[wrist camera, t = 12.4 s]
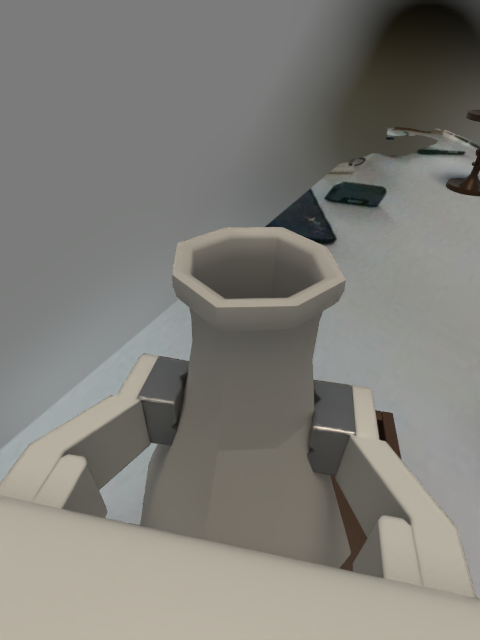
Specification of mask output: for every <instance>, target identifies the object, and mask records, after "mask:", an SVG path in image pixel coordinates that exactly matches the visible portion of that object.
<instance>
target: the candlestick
mask: <svg viewBox="0 0 480 640" xmlns="http://www.w3.org/2000/svg"><path fill="white" fill-rule="evenodd" d="M466 118H468V119H470V120H474V121H478V122H480V110H470V111H468V114H467V117H466ZM476 156H477V159H476V161H475V162H473V163H472V165H473V166H474V167H473V170H472V172H471V174H470V175H469V176H468V177H467V178H466V179H463V178H454V179H449V180H448V182H447V184H446V187H447V188H449V189H450V190H452V191H455V192H458V193H462V194H467V195H474V196H480V181H479V180H478V173H479V171H480V148H479V149H477V150H476Z"/></svg>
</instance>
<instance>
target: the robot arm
mask: <svg viewBox="0 0 480 640" xmlns="http://www.w3.org/2000/svg"><path fill="white" fill-rule="evenodd" d="M188 368H189V361H185V360H179V359H174V358H168V357H162V356H155V355H149V354H143V355H142V356H140V357H139V359H138V360H137V362H136V364H135V366H134V367H133V369H132V371H131V372H130V374H129V376H128V377H127V379H126V381H125V382H124V384H123V386H122V387H121V389H120V391H119V392H118V394H117V396H114V395H111V396H109V397H108V398H106V399H104V400H103V401H101V402H99V403H98V404H96V405H94V406H93V407H91V408H89V409H88V410H86V411H84V412H83V413H81V414H79V415H78V416H76V417H74V418H72V419H71V420H69V421H67V422H66V423H64V424H62V425H61V426H59V427H57V428H56V429H54V430H52V431H51V432H49V433H47V434H46V435H44V436H42V437H41V438H39V439H37V440H36V441H34V442H32V443H31V444H29V445H28V447H27V448H26V449H25V451H24V452H23V453H22V455H21V456H20V457H19V459H18V460H17V461H16V463H15V464H14V465H13V467H12V468H11V469H10V471H9V472H8V474H7V475H6V476H5V478H4V479H3V480H2V482H1V483H0V640H480V599H479V598H477V597H476V593H475V590H474V586H473V583H472V579H471V575H470V572H469V568H468V564H467V561H466V557H465V554H464V550H463V546H462V543H461V539H460V536H459V532H458V528H457V527H456V526H455V524H454V523H453V522H452V521H451V520H450V518H449V517H448V516H447V515H446V514H445V512H444V511H443V510H442V509H441V508H440V506H439V505H438V504H437V503H436V501H435V500H434V499H433V498H432V497H431V495H430V494H429V493H428V492H427V491H426V489H425V488H424V487H423V486H422V485H421V483H420V482H419V481H418V480H417V479H416V477H415V476H414V475H413V474H412V473H411V471H410V470H409V469H408V468H407V466H406V465H405V464H404V463H403V462H402V460H401V459H400V458H399V457H398V456H397V454H396V453H395V452H394V451H393V450H392V448H391V447H390V446H389V445H388V444H387V442H386V441H382V440H379V433H378V426H377V419H376V412H375V406H374V399H373V392H372V390H371V388H368V387H361V386H354V385H351V386H350V385H348V384H340V383H333V382H326V381H319V380H313V389H314V412H313V417H312V423H311V429H310V435H309V445H310V447H311V448H310V450H309V452H308V453H307V455H306V456H307V458H308V461H309V463H310V466H311V468H312V471H313V472H316V473H321V474H325V475H330V476H335V479H336V481H337V483H338V485H339V487H340V488H341V490H342V492H343V494H344V496H345V498H346V499H347V501H348V503H349V505H350V507H351V509H352V510H353V512H354V514H355V516H356V518H357V520H358V522H359V523H360V525H361V527H362V529H363V531H364V533H365V534H366V536H367V540H366V542H365V544H364V545H363V547H362V549H361V550H360V552H359V554H358V556H357V557H356V559H355V561H354V562H353V571H349V570H344V569H339V568H335V567H330V566H325V565H321V564H316V563H311V562H307V561H302V560H297V559H293V558H288V557H284V556H279V555H274V554H270V553H265V552H260V551H256V550H251V549H246V548H242V547H237V546H232V545H228V544H223V543H219V542H214V541H209V540H205V539H200V538H195V537H191V536H186V535H181V534H177V533H172V532H167V531H163V530H158V529H154V528H149V527H144V526H140V525H135V524H130V523H126V522H121V521H116V520H112V519H107V518H105V517H106V515H107V509H106V506H105V503H104V501H103V499H102V496H101V494H100V492H99V490H100V489H101V488H102V487H103V486H104V485H105V484H107V483H108V482H109V481H110V480H111V479H112V478H113V477H114V476H116V475H117V474H118V473H119V472H120V471H121V470H122V469H123V468H125V467H126V466H127V465H128V464H129V463H130V462H131V461H132V460H134V459H135V458H136V457H137V456H138V455H139V454H140V453H141V452H143V451H144V450H145V449H146V448H147V447H148V446H149V445H150V443H156V444H162V445H169V446H172V444H173V441H174V439H175V436H176V434H177V430H178V422H179V414H180V412H181V409H182V406H183V401H184V388H185V385H186V381H187V376H188Z"/></svg>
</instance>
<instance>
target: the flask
mask: <svg viewBox="0 0 480 640" xmlns="http://www.w3.org/2000/svg"><path fill="white" fill-rule="evenodd" d="M172 281H173V288H174V290H175V293H176V295H177V297H178V298H179V299H180V300H181V301H182V302H184V303H185V304H186V305H187V306H189V308H190V313H191V319H192V339H193V341H192V348H191V354H190V361H189V368H188V376H187V381H186V385H185V388H184V401H183V406H182V409H181V412H180V414H179V422H178V430H177V434H176V436H175V439H174V441H173V444H172V446H169V445H162V444H158V445H157V447H156V449H155V451H154V453H153V455H152V458H151V460H150V463H149V466H148V473H147V480H146V487H145V494H144V501H143V508H142V515H141V522H140V526H144V527H149V528H154V529H158V530H163V531H167V532H172V533H177V534H181V535H186V536H191V537H195V538H200V539H205V540H209V541H214V542H219V543H223V544H228V545H232V546H237V547H242V548H246V549H251V550H256V551H260V552H265V553H270V554H274V555H279V556H284V557H288V558H293V559H297V560H302V561H307V562H311V563H316V564H321V565H325V566H330V567H335V568H340V567H341V565H342V564H343V563H344V562H345V561H346V559H347V558H348V557H349V556H350V554H351V551H350V547H349V543H348V539H347V535H346V532H345V528H344V524H343V521H342V517H341V514H340V510H339V506H338V503H337V499H336V496H335V492H334V488H333V485H332V481H331V478H330V475H325V474H321V473H316V472H313V471H312V468H311V466H310V463H309V461H308V458H307V456H306V455H307V453H308V452H309V450H310V448H311V447H310V445H309V435H310V429H311V423H312V417H313V412H314V389H313V364H312V359H313V353H314V348H315V342H316V337H317V331H318V326H319V320H320V318H321V315H322V312H323V311H324V310H325V309H327V308H329V307H331V306H332V305H334V304H335V303H336V302H338V301H339V299H340V297H341V295H342V293H343V292H344V288H345V282H346V280H345V278H344V276H343V274H342V273H341V271H340V269H339V267H338V266H337V264H336V262H335V260H334V259H333V257H332V255H331V253H330V252H329V250H328V248H327V247H325V246H323V245H321V244H318V243H316V242H314V241H312V240H309V239H307V238H305V237H303V236H301V235H298V234H296V233H294V232H292V231H289V230H287V229H285V228H283V227H226V228H222V229H219V230H216V231H213V232H210V233H207V234H203V235H200V236H197V237H194V238H191V239H188V240H185V241H181V242H178V243H177V248H176V254H175V261H174V267H173V274H172Z"/></svg>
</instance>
